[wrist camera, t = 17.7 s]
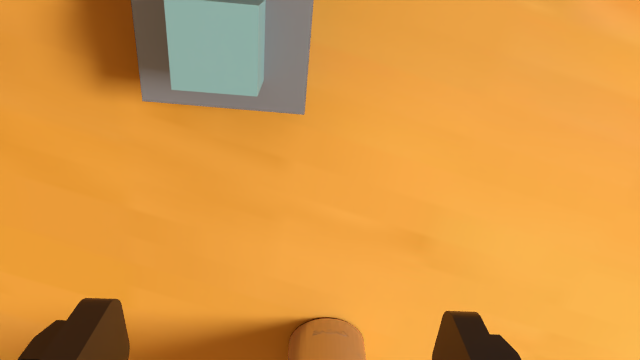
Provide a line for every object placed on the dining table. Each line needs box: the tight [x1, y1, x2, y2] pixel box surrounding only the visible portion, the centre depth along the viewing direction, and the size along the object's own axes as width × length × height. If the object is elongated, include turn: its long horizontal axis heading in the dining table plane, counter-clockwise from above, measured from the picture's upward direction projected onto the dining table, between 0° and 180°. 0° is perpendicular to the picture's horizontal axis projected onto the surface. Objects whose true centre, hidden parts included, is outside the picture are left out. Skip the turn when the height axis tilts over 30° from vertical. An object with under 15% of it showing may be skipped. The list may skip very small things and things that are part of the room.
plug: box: [164, 0, 266, 97], centre depth 28 cm, size 5×5×8 cm
